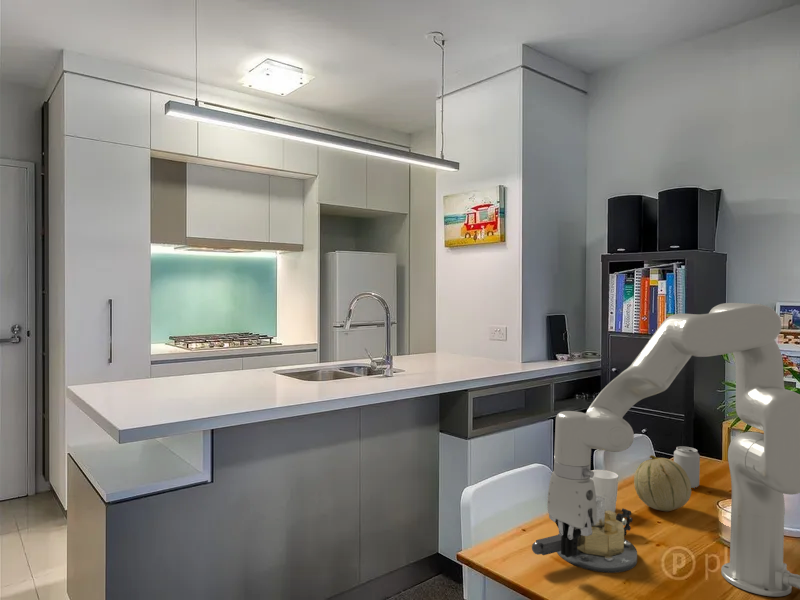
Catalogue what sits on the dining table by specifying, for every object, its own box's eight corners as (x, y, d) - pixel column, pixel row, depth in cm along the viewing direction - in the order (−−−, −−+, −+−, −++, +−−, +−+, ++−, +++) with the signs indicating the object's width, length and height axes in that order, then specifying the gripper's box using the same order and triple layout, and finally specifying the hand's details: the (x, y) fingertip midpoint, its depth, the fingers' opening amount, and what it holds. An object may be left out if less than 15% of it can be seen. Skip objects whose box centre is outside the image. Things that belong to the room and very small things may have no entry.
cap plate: (648, 553, 130) (649, 498, 130) (618, 581, 117) (619, 520, 116) (576, 530, 142) (577, 479, 142) (541, 553, 129) (542, 497, 129)
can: (703, 489, 174) (704, 452, 174) (680, 489, 174) (681, 451, 174) (691, 481, 181) (692, 445, 181) (668, 481, 181) (669, 445, 181)
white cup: (582, 505, 159) (582, 471, 158) (603, 502, 162) (604, 468, 162) (602, 516, 151) (603, 480, 151) (623, 512, 154) (624, 476, 154)
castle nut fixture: (594, 529, 137) (595, 502, 137) (634, 549, 127) (635, 520, 127) (515, 548, 126) (516, 519, 126) (552, 572, 115) (552, 540, 115)
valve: (576, 522, 147) (618, 538, 137) (577, 498, 147) (619, 512, 137) (591, 516, 151) (632, 532, 142) (591, 492, 151) (633, 506, 141)
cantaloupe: (694, 523, 148) (696, 467, 148) (635, 515, 152) (636, 461, 152) (685, 503, 162) (686, 452, 162) (631, 496, 166) (632, 447, 166)
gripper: (612, 477, 114) (609, 565, 114) (556, 458, 127) (553, 537, 127) (589, 483, 110) (586, 574, 110) (533, 462, 123) (530, 544, 123)
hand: (568, 554), depth 119 cm, fingers closed
